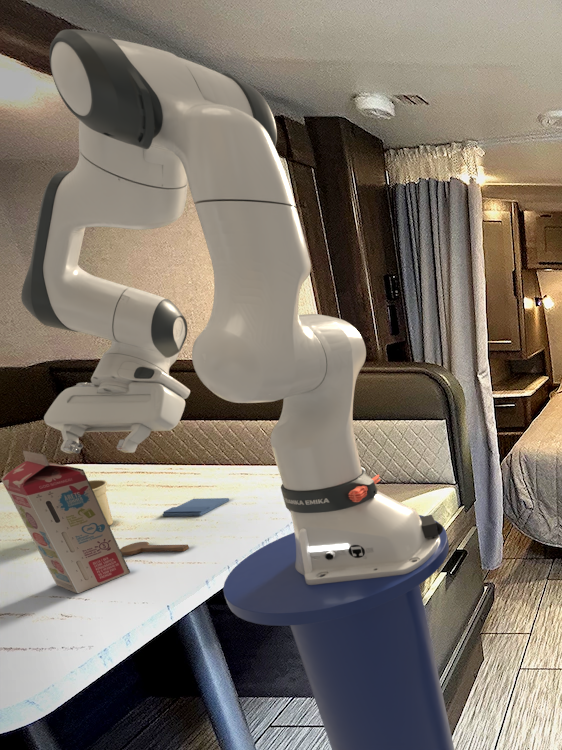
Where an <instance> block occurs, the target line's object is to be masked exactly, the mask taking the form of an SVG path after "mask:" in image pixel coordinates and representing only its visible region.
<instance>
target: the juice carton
mask: <svg viewBox="0 0 562 750" xmlns="http://www.w3.org/2000/svg"><path fill="white" fill-rule="evenodd" d="M21 451H22V454H23V457H24V460H25V461H23V462H22V463H20V464H19V465H17V466H15V468H13V469H11V470H10V471H9V472H7V473H6V474H5V475H3V476H2V477H1V478H0V481H1V482H2V484H3V486H4V488H5V490H6V492H7V494H8V495H9V498H10V499H11V501H12V502H13V503H12V504H13V505H14V507H15V509H16V511H17V512H18V514H19V516H20V518H21V520H22V522H23V524H24V526H25V527H26V530H27V531H28V533H29V535H30V537H31V539H32V541H33V543H34V544H35V547H36V548H37V551H38V552H39V554H40V556H41V558H42V560H43V563H44V564H45V566H46V568H47V570H48V571H49V573H50V575H51V578H52V579H53V581H54V583H55V585H56V586H57V587H60V588H62V589H65V590H67V591H70V592H72V593H75V594H77V595H79V594H81V593H83V592H85V591H88V590H90V589H93V588H95V587H98V586H101V585H102V584H105V583H108V582H110V581H113V580H115V579H118V578H120V577H123V576H125V575H128V574H131V571H130V569H129V566H128V564H127V562H126V560H125V558H124V557H125V556H123V555H122V553H121V551H120V549H121V548H120V546H119V544H118V542H117V540H116V537H115V536H114V533H113V531H112V529H111V528H110V525H108V523H107V520H106V518H105V516H104V514H103V512H102V509H101V507H100V505H99V503H98V501H97V499H96V496H95V494H94V492H93V490H92V488H91V485H90V483H89V481H90V480H89V479H88V477H87V475H86V473H85V470H84V469H82V468H78V467H73V466H70V465H65V464H60V463H56V462H49V461H48V459H47V456H46V454H41V453H37V452H32V451H27V450H21Z"/></svg>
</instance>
